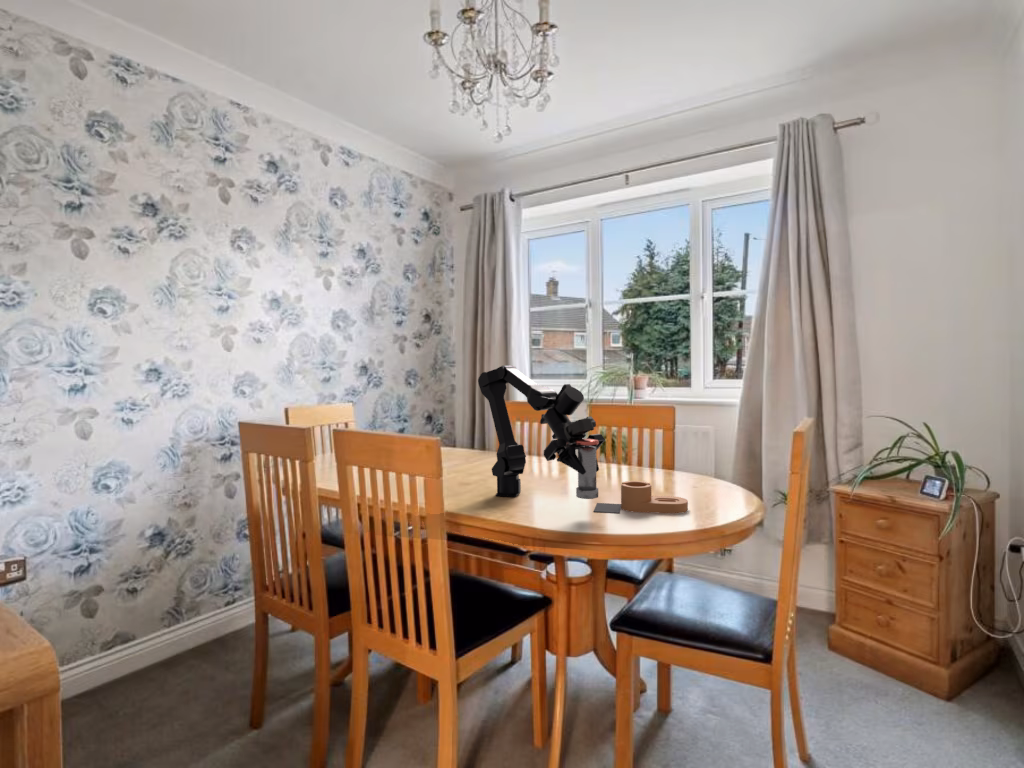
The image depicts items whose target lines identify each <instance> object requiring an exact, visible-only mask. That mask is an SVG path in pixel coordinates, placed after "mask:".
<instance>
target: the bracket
mask: <svg viewBox="0 0 1024 768" xmlns="http://www.w3.org/2000/svg"><path fill="white" fill-rule="evenodd" d="M688 502H689V500H688V499H687V498H684V497H681V496H673V495H671V496H670V495H669V496H666V495H652V484H651V483H650V482H647V481H642V480H628V481H623V482H621V483H620V504H621V510H623V509H624V510H623V511H626V510H627V511H626V512H631V511H633V513H651V512H659V514H683V513H682V512H684V513H687V512H688V511H687V510H689V508H688V507H689V503H688ZM686 511H687V512H686Z"/></svg>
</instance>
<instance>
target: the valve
mask: <svg viewBox="0 0 1024 768" xmlns="http://www.w3.org/2000/svg"><path fill="white" fill-rule="evenodd" d="M576 444H578V445H585V446H579V447H578V450H577V457H578V459H579V460H580V462H581V464H582V466H583V468H584V470H585V474H583V475H582V474H581V473H579V472H577V487H575V492H576V493H575V494H576V495H575V496H576V498H578V499H585V500H594V499H597V498H599V487H597V472H596V458H597V450H596V447H594V446H589V445H598V444H599V440H596V439H587V438H582V439H578V440H576Z"/></svg>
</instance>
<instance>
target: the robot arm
mask: <svg viewBox="0 0 1024 768" xmlns="http://www.w3.org/2000/svg"><path fill="white" fill-rule="evenodd" d="M477 383H478V386H479V389H480V392H481V394H482V395H483V396H484V398H485V399H486V400H487V401H488V404H489V408H490V412H491V416H492V419H493V423H494V424H493V425H494V428H495V433H496V436H497V441H498V448H497V452H496V462H495V463H494V464H493V466H492V467H491V474H492V476H494V477H496V486H497V487H496V491H497V492H496V493H495V496H496V497H507V498H508V497H512V498H513V497H514V498H515V497H517V496H518V495H519V494H520V493H521V491H522V490H521V489H522V487H521V484H522V483H521V478H519V477H520V476H519V475H523V474H524V471H525V470H524V469H525V466H526V463H527V460H526V458H527V455H526V452H525V448H524V446H523V444H522V443H521V444H519V443H518V442H516V440H515V436H514V432H513V429H512V424H511V420H510V416H509V411H508V407H507V404H506V399H505V395H506V390H507V384H509V385H511V386H512V387H514V388H515V389H516V390H517V391H519V392H520V393H521V394H522V395H524V396H525V397H526V401H527V404H529V405H530V407H531V408H532V409H533V410H534V411H536V412H537V411H538V412H539V411H546V412H545V413H544V414H543V413H542V414H541V418H540V420H539V421H540V422H539V423H540V425H546V424H547V425H548V427H549V429H550V430H551V431H552V433H553V434H552V435H551V437H552V440H551V441H550V442H549V443H548V444H547V446H546V447H545V448H544V450H543V457H544V458H545V460H546V461H547V462H549V461H554V460H556V461H557V462H560V463H561V464H564V465H565V466H568V467H569V468H570V469H573V470H574V471H576V472H577V473H578V472H579V473H581V474H582V475H583V474H585V470H584V468H583V466H582V464H581V462H580V460H579V459H578V454H577V453H576V451H578V447H579V446H585V445H578V444H576V440H578V439H585V437H586V436H587V433H588V432H590V431H594V430H595V428H596V427H597V426H596V425H597V424H596V421H595V419H594V418H593V416H586V417H585V418H581V419H577V420H575V421H571V420H570V418H569V417H568V416H571V415H573V414H574V413H575V411H576V410H577V409H578V408H579V406H580V405H581V404H582V403H583V401H584V400H585V397H584V394H583V392H582V391H580V390H578V388H576V387H573V386H572V385H571V384H570V383H567V384H565V383H564V384H563V385H562V387H561V389H560V390H559V392H557V391H556V390H554V389H552V388H549V387H548V386H544V385H540V384H538V383H536V382H535V381H534V380H532V379H531V378H530V377H528V376H526V375H525V374H524V373H522V372H521V371H520V370H518V369H517V367H516V366H514V365H509V364H508V365H501V366H499V367H497V368H495V369H492V370H489V371H484V372H482V373H480V374H479V377H478V379H477ZM586 439H596V440H599V444H598V445H589V446H594V447H596V451H597V450H598V449H600V447H601V446H602V444H604V442H605V441H606V439H605V438H604V436H603V434H601V433H593V434H589V435H588V436H587V437H586ZM556 453H557V455H556ZM557 456H558V457H557ZM556 457H557V458H556ZM599 471H600V467H599V462H598V459H597V457H596V473H597V472H599Z"/></svg>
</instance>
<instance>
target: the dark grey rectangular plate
mask: <svg viewBox="0 0 1024 768" xmlns="http://www.w3.org/2000/svg"><path fill="white" fill-rule="evenodd" d="M621 510H622V508H621V503H607V502H606V503H605V502H602V503H601V502H596V505H595V507H594V509H593V513H610V514H620V513H621Z"/></svg>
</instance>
